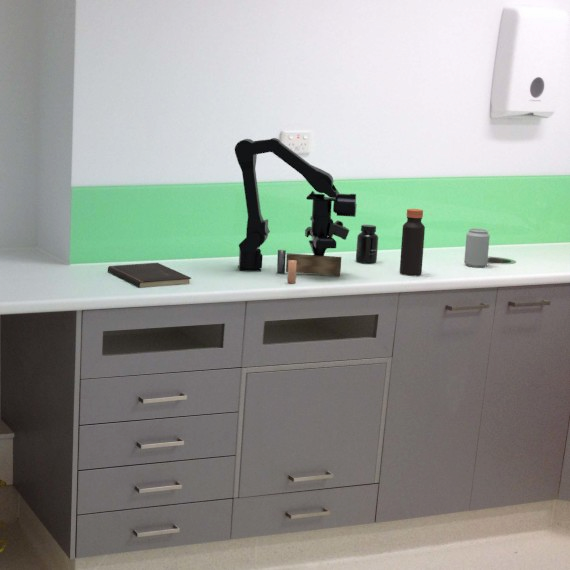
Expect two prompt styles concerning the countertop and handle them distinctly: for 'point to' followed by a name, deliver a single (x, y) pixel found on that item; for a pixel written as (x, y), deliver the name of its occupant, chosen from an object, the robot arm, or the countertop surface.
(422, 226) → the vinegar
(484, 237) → the can
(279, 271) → the hinge post
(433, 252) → the countertop surface
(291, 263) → the catch post
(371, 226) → the supplement bottle
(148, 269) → the hardcover book
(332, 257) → the brown long plank slab
